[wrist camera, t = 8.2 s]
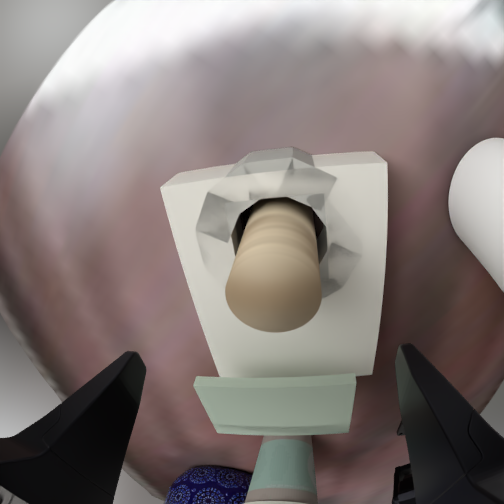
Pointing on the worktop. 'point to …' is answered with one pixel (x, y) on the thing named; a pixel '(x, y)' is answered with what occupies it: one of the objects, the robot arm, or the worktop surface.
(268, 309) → the peg
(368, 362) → the socket
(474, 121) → the worktop surface
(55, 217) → the worktop surface
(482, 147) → the beverage can
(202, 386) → the mint green folder
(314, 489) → the coffee cup
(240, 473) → the planter
